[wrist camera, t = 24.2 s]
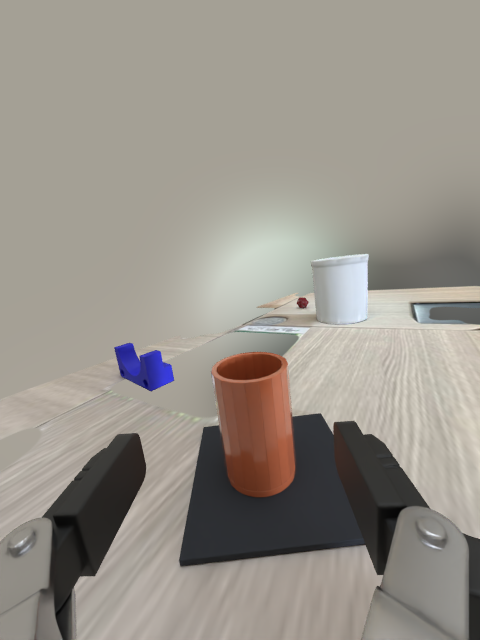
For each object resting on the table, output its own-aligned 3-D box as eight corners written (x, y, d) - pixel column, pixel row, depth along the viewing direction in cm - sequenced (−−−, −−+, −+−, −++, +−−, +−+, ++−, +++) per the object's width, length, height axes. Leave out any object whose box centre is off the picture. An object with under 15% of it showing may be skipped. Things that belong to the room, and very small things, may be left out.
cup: (225, 502, 20) (207, 387, 18) (227, 447, 26) (214, 356, 24) (304, 493, 20) (295, 377, 18) (288, 440, 26) (280, 348, 24)
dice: (309, 308, 95) (308, 297, 94) (296, 309, 96) (296, 298, 95) (308, 306, 98) (308, 296, 97) (296, 307, 99) (296, 297, 98)
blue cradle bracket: (174, 380, 45) (168, 348, 44) (150, 391, 42) (143, 357, 41) (142, 367, 54) (136, 340, 52) (121, 376, 51) (114, 347, 49)
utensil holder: (349, 328, 64) (347, 256, 61) (303, 321, 77) (299, 261, 73) (380, 315, 72) (380, 252, 68) (334, 311, 84) (332, 257, 81)
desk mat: (180, 566, 17) (178, 560, 17) (204, 430, 30) (203, 427, 30) (392, 541, 17) (392, 535, 17) (321, 416, 30) (320, 413, 30)
